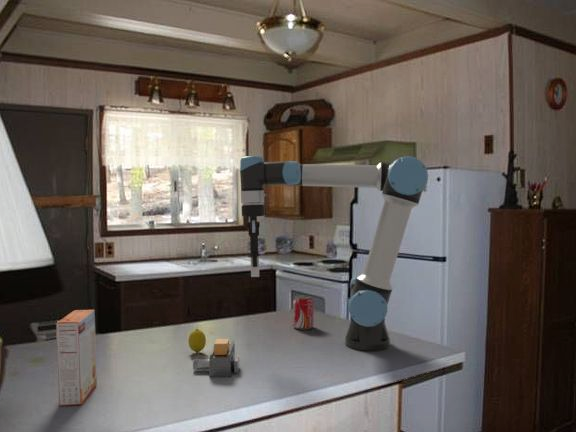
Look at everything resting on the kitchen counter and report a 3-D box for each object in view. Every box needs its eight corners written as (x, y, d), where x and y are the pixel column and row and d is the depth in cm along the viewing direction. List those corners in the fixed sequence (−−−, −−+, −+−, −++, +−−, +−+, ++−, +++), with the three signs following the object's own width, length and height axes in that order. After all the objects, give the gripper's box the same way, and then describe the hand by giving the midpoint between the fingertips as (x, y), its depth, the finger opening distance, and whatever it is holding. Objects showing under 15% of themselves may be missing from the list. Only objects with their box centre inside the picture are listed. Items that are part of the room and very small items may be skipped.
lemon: (202, 356, 169) (202, 331, 169) (186, 355, 170) (185, 330, 170) (208, 351, 175) (208, 327, 174) (192, 350, 176) (192, 326, 175)
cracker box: (74, 386, 143) (73, 309, 142) (97, 385, 143) (96, 308, 143) (56, 406, 129) (54, 321, 128) (81, 405, 129) (80, 321, 129)
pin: (239, 366, 158) (239, 355, 158) (237, 372, 152) (237, 361, 152) (195, 366, 158) (195, 355, 158) (192, 373, 152) (192, 361, 152)
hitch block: (234, 361, 164) (234, 341, 163) (230, 376, 150) (230, 354, 149) (215, 361, 164) (215, 341, 163) (209, 376, 150) (209, 354, 149)
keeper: (229, 348, 157) (228, 338, 157) (227, 354, 151) (226, 344, 151) (216, 349, 157) (216, 338, 157) (214, 355, 151) (213, 344, 151)
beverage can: (290, 325, 208) (290, 295, 208) (310, 324, 210) (310, 294, 209) (295, 331, 200) (295, 299, 200) (316, 329, 202) (316, 298, 202)
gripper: (264, 204, 165) (267, 279, 166) (264, 203, 178) (266, 273, 179) (240, 204, 165) (243, 280, 166) (241, 204, 178) (244, 274, 179)
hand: (255, 276), depth 173 cm, fingers closed
